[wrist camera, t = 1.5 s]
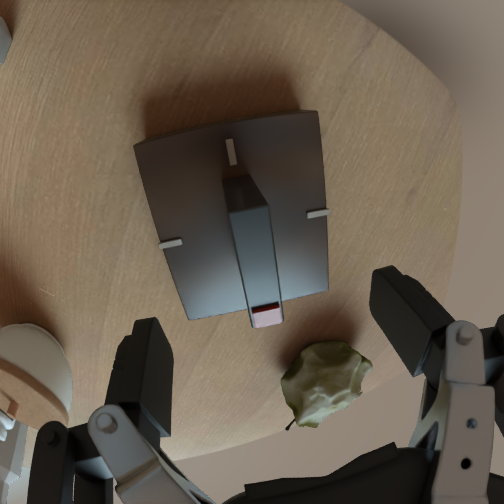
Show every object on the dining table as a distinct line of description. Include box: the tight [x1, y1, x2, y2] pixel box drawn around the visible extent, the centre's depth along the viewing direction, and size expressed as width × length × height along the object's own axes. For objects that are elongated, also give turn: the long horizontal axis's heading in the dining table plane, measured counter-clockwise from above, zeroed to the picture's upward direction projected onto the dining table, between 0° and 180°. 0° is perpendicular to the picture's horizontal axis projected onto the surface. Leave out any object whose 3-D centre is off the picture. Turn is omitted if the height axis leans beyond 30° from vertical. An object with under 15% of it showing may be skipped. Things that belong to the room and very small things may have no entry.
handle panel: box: [133, 110, 330, 320], centre depth 18 cm, size 12×10×3 cm
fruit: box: [281, 341, 373, 430], centre depth 25 cm, size 9×9×8 cm
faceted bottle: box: [0, 420, 28, 504], centre depth 20 cm, size 6×6×22 cm
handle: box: [222, 175, 284, 329], centre depth 14 cm, size 6×2×5 cm, turn 9°
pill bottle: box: [0, 409, 15, 441], centre depth 21 cm, size 5×5×9 cm
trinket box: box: [0, 323, 73, 430], centre depth 18 cm, size 11×11×9 cm
